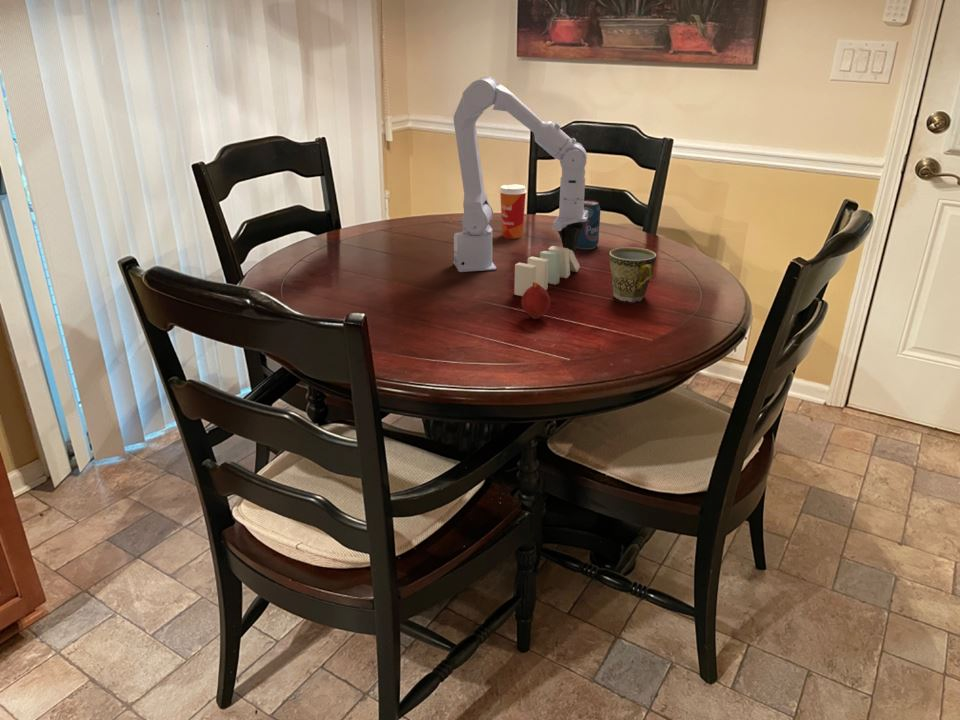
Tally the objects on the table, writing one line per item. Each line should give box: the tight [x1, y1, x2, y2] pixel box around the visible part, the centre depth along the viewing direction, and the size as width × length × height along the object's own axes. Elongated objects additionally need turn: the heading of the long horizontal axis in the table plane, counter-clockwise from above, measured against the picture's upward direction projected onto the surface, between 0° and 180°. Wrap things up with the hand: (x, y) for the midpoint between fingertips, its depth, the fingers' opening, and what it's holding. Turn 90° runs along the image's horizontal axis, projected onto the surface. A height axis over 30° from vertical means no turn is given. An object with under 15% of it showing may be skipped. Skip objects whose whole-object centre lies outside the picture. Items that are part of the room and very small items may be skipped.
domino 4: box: [548, 245, 571, 279], centre depth 177 cm, size 2×4×7 cm, turn 56°
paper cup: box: [499, 183, 527, 240], centre depth 209 cm, size 8×8×14 cm
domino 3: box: [539, 250, 560, 285], centre depth 174 cm, size 2×4×7 cm, turn 56°
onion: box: [520, 282, 551, 320], centre depth 152 cm, size 6×6×8 cm
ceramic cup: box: [608, 246, 657, 303], centre depth 162 cm, size 13×10×10 cm
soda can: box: [576, 199, 601, 250], centre depth 199 cm, size 7×7×12 cm
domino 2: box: [527, 256, 549, 291], centre depth 169 cm, size 2×4×7 cm, turn 56°
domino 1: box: [513, 261, 536, 297], centre depth 165 cm, size 2×4×7 cm, turn 56°
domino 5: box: [569, 250, 581, 273], centre depth 180 cm, size 2×4×7 cm
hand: (569, 253), depth 181 cm, fingers closed
